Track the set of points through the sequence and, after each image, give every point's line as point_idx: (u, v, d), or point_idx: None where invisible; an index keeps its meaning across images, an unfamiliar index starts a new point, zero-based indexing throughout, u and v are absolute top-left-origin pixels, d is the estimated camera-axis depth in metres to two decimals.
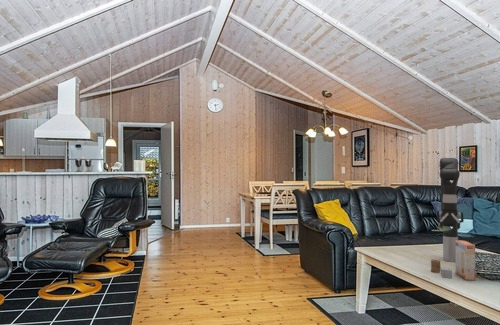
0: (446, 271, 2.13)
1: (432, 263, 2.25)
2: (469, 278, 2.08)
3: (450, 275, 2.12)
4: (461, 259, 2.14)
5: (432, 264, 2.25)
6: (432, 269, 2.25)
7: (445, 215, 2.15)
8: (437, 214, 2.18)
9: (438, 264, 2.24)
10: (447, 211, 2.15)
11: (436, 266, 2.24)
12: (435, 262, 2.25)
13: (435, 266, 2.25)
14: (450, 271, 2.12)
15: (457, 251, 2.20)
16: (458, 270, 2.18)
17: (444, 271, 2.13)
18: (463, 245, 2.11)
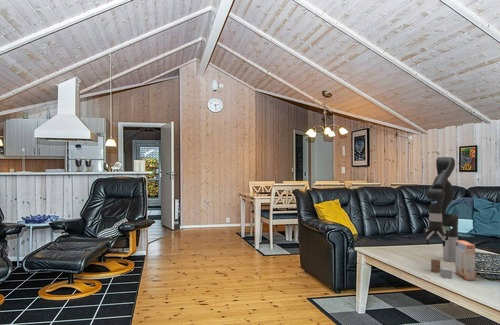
0: (446, 271, 2.13)
1: (432, 263, 2.25)
2: (469, 278, 2.08)
3: (450, 275, 2.12)
4: (461, 259, 2.14)
5: (432, 264, 2.25)
6: (432, 269, 2.25)
7: (431, 233, 2.27)
8: (424, 232, 2.29)
9: (438, 264, 2.24)
10: (433, 229, 2.27)
11: (436, 266, 2.24)
12: (435, 262, 2.25)
13: (435, 266, 2.25)
14: (450, 271, 2.12)
15: (457, 251, 2.20)
16: (458, 270, 2.18)
17: (444, 271, 2.13)
18: (463, 245, 2.11)
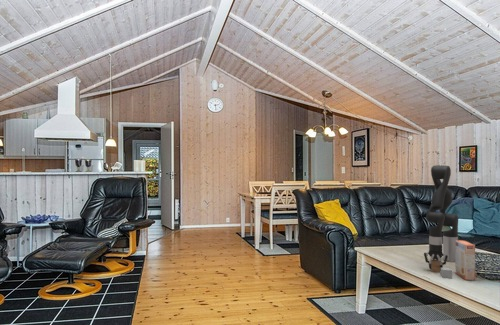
0: (446, 271, 2.13)
1: (432, 263, 2.25)
2: (469, 278, 2.08)
3: (450, 275, 2.12)
4: (461, 259, 2.14)
5: (432, 264, 2.25)
6: (432, 269, 2.25)
7: (432, 256, 2.26)
8: (425, 256, 2.29)
9: (438, 264, 2.24)
10: (433, 252, 2.26)
11: (436, 266, 2.24)
12: (435, 262, 2.25)
13: (435, 266, 2.25)
14: (450, 271, 2.12)
15: (457, 251, 2.20)
16: (458, 270, 2.18)
17: (444, 271, 2.13)
18: (463, 245, 2.11)
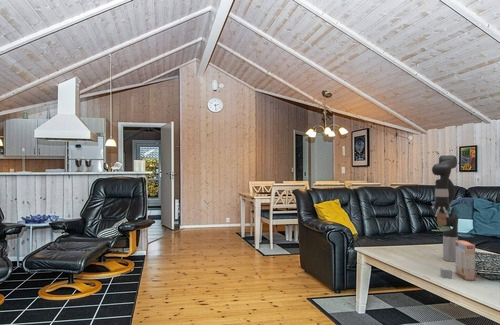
0: (446, 271, 2.13)
1: (438, 215, 2.23)
2: (469, 278, 2.08)
3: (450, 275, 2.12)
4: (461, 259, 2.14)
5: (438, 216, 2.23)
6: (438, 221, 2.23)
7: (438, 209, 2.24)
8: (431, 209, 2.27)
9: (444, 216, 2.22)
10: (439, 205, 2.24)
11: (442, 218, 2.22)
12: (441, 214, 2.22)
13: (441, 218, 2.22)
14: (450, 271, 2.12)
15: (457, 251, 2.20)
16: (458, 270, 2.18)
17: (444, 271, 2.13)
18: (463, 245, 2.11)
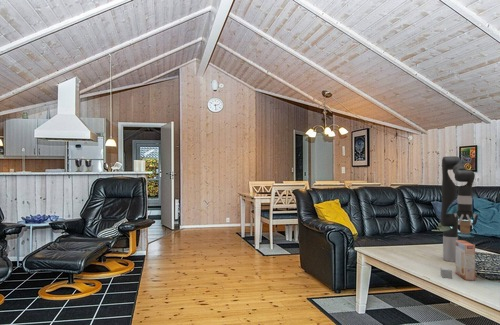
0: (446, 271, 2.13)
1: (461, 223, 2.14)
2: (469, 278, 2.08)
3: (450, 275, 2.12)
4: (461, 259, 2.14)
5: (461, 225, 2.14)
6: (461, 230, 2.14)
7: (461, 217, 2.15)
8: (453, 217, 2.18)
9: (468, 224, 2.13)
10: (462, 212, 2.16)
11: (466, 226, 2.13)
12: (464, 222, 2.14)
13: (464, 226, 2.14)
14: (450, 271, 2.12)
15: (457, 251, 2.20)
16: (458, 270, 2.18)
17: (444, 271, 2.13)
18: (463, 245, 2.11)
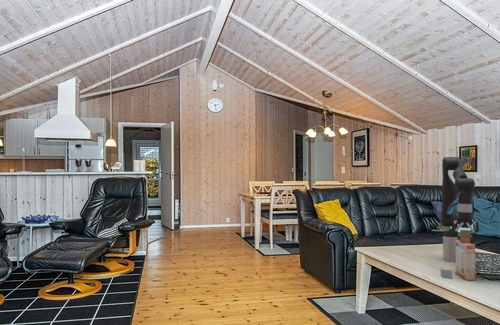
0: (446, 271, 2.13)
1: (461, 233, 2.14)
2: (469, 278, 2.08)
3: (450, 275, 2.12)
4: (461, 259, 2.14)
5: (461, 234, 2.14)
6: (461, 240, 2.14)
7: (460, 224, 2.15)
8: (452, 223, 2.18)
9: (468, 234, 2.13)
10: (462, 220, 2.15)
11: (466, 236, 2.13)
12: (465, 232, 2.13)
13: (465, 236, 2.13)
14: (450, 271, 2.12)
15: (457, 251, 2.20)
16: (458, 270, 2.18)
17: (444, 271, 2.13)
18: (463, 245, 2.11)
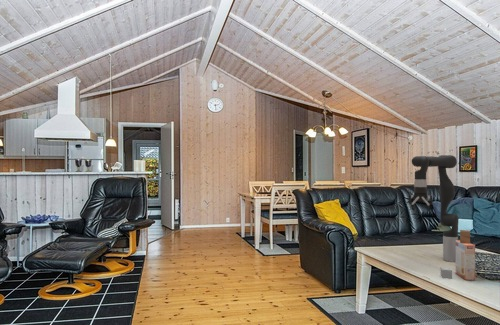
0: (446, 271, 2.13)
1: (461, 233, 2.14)
2: (469, 278, 2.08)
3: (450, 275, 2.12)
4: (461, 259, 2.14)
5: (461, 234, 2.14)
6: (461, 240, 2.14)
7: (416, 198, 2.35)
8: (409, 198, 2.37)
9: (468, 234, 2.13)
10: (418, 195, 2.35)
11: (466, 236, 2.13)
12: (465, 232, 2.13)
13: (465, 236, 2.13)
14: (450, 271, 2.12)
15: (457, 251, 2.20)
16: (458, 270, 2.18)
17: (444, 271, 2.13)
18: (463, 245, 2.11)
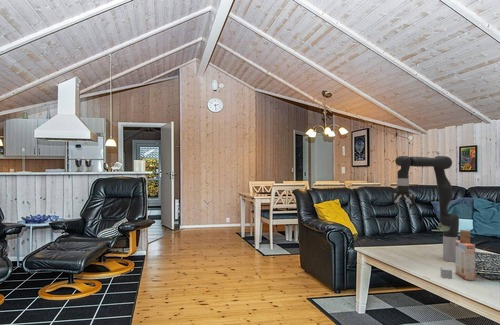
0: (446, 271, 2.13)
1: (461, 233, 2.14)
2: (469, 278, 2.08)
3: (450, 275, 2.12)
4: (461, 259, 2.14)
5: (461, 234, 2.14)
6: (461, 240, 2.14)
7: (399, 197, 2.44)
8: (392, 196, 2.47)
9: (468, 234, 2.13)
10: (400, 193, 2.44)
11: (466, 236, 2.13)
12: (465, 232, 2.13)
13: (465, 236, 2.13)
14: (450, 271, 2.12)
15: (457, 251, 2.20)
16: (458, 270, 2.18)
17: (444, 271, 2.13)
18: (463, 245, 2.11)
